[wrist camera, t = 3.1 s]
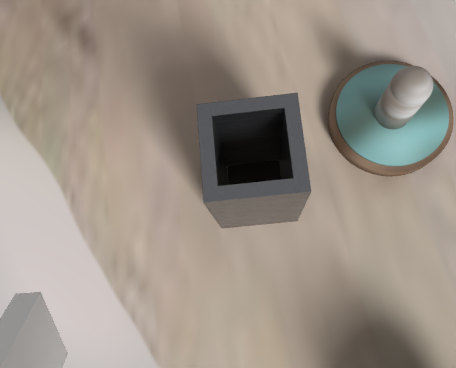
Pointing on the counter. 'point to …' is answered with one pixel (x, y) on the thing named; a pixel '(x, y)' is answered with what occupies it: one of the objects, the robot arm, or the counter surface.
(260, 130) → the grey square holder
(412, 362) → the counter surface
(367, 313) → the counter surface
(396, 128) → the post stand
